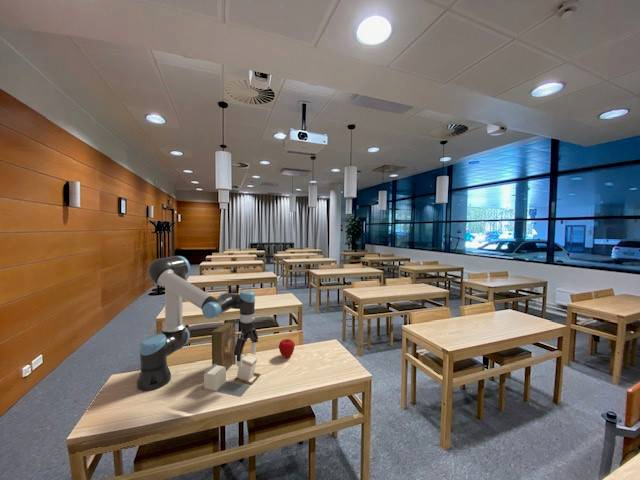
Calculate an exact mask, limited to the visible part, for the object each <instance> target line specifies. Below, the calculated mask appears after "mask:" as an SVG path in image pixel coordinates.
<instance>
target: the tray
mask: <svg viewBox="0 0 640 480" xmlns="http://www.w3.org/2000/svg"><path fill="white" fill-rule="evenodd" d="M253 376H256V377H255V378H254V379H253V380H252V381H250V380H249V381H244V380H241V379H239V378H237V376H236V377H235V378H233V381H234V382H235V383H237V382H238V383H240V384H245V385H247V384H248V385H253V384H254V383H255V382H256V381H257V380H258V379H259V378H260V377H261V373H258V372H254V375H253Z"/></svg>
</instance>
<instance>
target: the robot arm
mask: <svg viewBox="0 0 640 480" xmlns="http://www.w3.org/2000/svg"><path fill="white" fill-rule="evenodd" d="M190 270H191V265H190V262H189V260H188V259H187V258H186V257H185V256H182V255H173V256H167V257H162V258H156V259H154V260H152V261H151V262H150V263H149V265H148V267H147V275H148V277H149V279H150V281H152V282H153V283H154V284H155V285H157V286H159V287H164V288H165V289H164V292H165V293H164V296H165V297H164V300H165V302H164V306H165V307H164V316H165V317H164V318H165V319H164V321H165V322H164V326H163V327H162V328H161V333H157V334H154V335H150V336H148V337H145V338H144V339H142V341H141V342H140V344H139V345H140V346H139V359H140V372H139V375H138V379H137V381H136V388H137V389H138V390H139V391H143V392H144V391H146V392H147V391H152V390H157V389H159V388H162V387H164V386H165V385H167V384H168V383H169V382H170V381H171V379H172V373H171V371H170V367H169V366H168V361H167V360H168V359H167V357H169V356H170V355H172V354H173V353H176V352H177V351H179V350H181V349H182V348H183V347H184V346H185V347H186V345H187V344H188V343H189V340H190V338H191V337H190V336H191V335H190V331H189V330H188V327H186V324H184V323H183V299H185V300H186V301H188V302H189V303H191V304H193V305H194V306H196V307H197V308H199V309H200V310H201V312H202V315H203V316H204V318H206V319H210V320H211V319H213V318H217V317H219V316H220V315H221V314H223V313H226V312H227V311H229V310H231V309H232V310H233V309H235V310H239V329H240V330H241V333H238V334H237V337H236V342H235V343H236V347H235V351H234V355H236V367H238V368H239V367H242V357H243V353H242V352H243V349H244V347H245V345H246V344H245V343H246V342H247V341H248V339H250V341H251V342H250V355H256V353H257V352H256V351H257V349H256V345H257V343H258V342H259V341H258V340H259V335H258V332H257V328H256V325H255V316H256V315H255V303H256V297H255V295H256V294H255V292H254V291H252V290H242V291H240V293H239V294H237V293H231V292H223V293H220V294H219V295H218V298H216V297H214V296H212V295H210V294H209V293H208V292H206V291H204V290H202V289H201V288H199V287H197V286H196V285H194V284H192V283H191V282H189V281H187V280H186V275H188V273H189V272H190Z"/></svg>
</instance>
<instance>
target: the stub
mask: <svg viewBox="0 0 640 480" xmlns="http://www.w3.org/2000/svg"><path fill="white" fill-rule="evenodd" d="M257 360H258V358H256V357H255V356H252V355H249V354H247V353H246V354H244V355H242V367H238V369H237V374H236V377H237V378H238V379H239V380H244V381H249V382H250V381H251V379H252V378H253V377H254V376H255V375H254V373H255V371H256V364H257Z"/></svg>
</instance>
